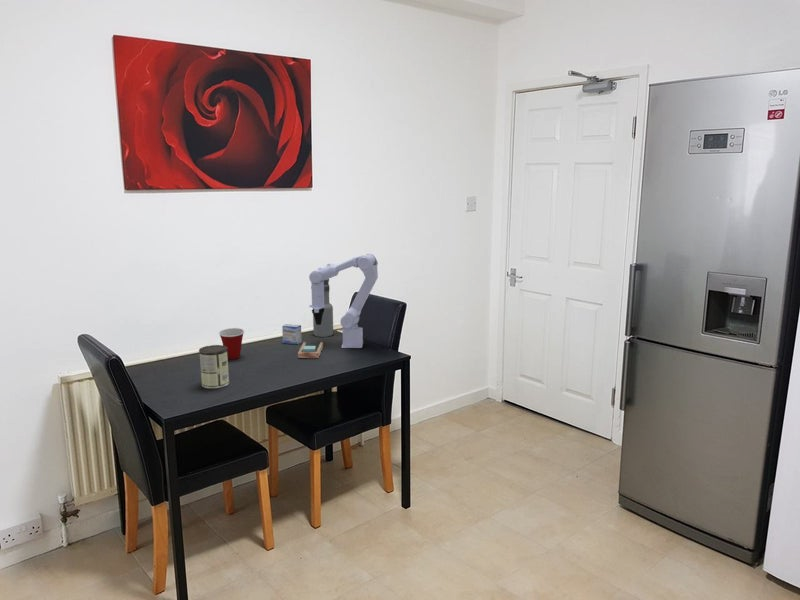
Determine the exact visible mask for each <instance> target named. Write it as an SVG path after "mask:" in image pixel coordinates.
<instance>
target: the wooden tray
mask: <svg viewBox="0 0 800 600" xmlns="http://www.w3.org/2000/svg"><path fill="white" fill-rule="evenodd" d="M304 346H307V341H302V344H301V346H300V348H299V350H298V352H297V359H298V358H308V360H309V358H311V359H312V358H313V359H314V358H320V357H321V354H322V352H321V351H323V348H324V341H320V343H319V344H318V347H317V348H316V352H303V348H304ZM319 356H320V357H319ZM313 359H312V360H313ZM314 360H315V359H314Z"/></svg>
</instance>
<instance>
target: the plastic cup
mask: <svg viewBox="0 0 800 600" xmlns="http://www.w3.org/2000/svg"><path fill="white" fill-rule="evenodd" d="M244 333H245V330H244V329H243V328H239V327H230V328H225V329H222V330H220V331H219V332H218V335H219V337H220V338H221V339H220V340H221V341H222V345H223V346H226V347H227V355H228V360H237V358H238V359H239V357H241V353H242V352H241V351H242V345H243V339H244V338H243V337H244Z"/></svg>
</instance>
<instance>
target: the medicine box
mask: <svg viewBox="0 0 800 600" xmlns="http://www.w3.org/2000/svg"><path fill="white" fill-rule="evenodd" d="M281 327H282V330H281V331H282V344H283V343H288V344H287V345H296V344H298V345H299V343H300V344H301V343H303V341H302V325H300V324H291V323H290V324H289V323H286V324H283V325H282V326H281Z"/></svg>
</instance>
